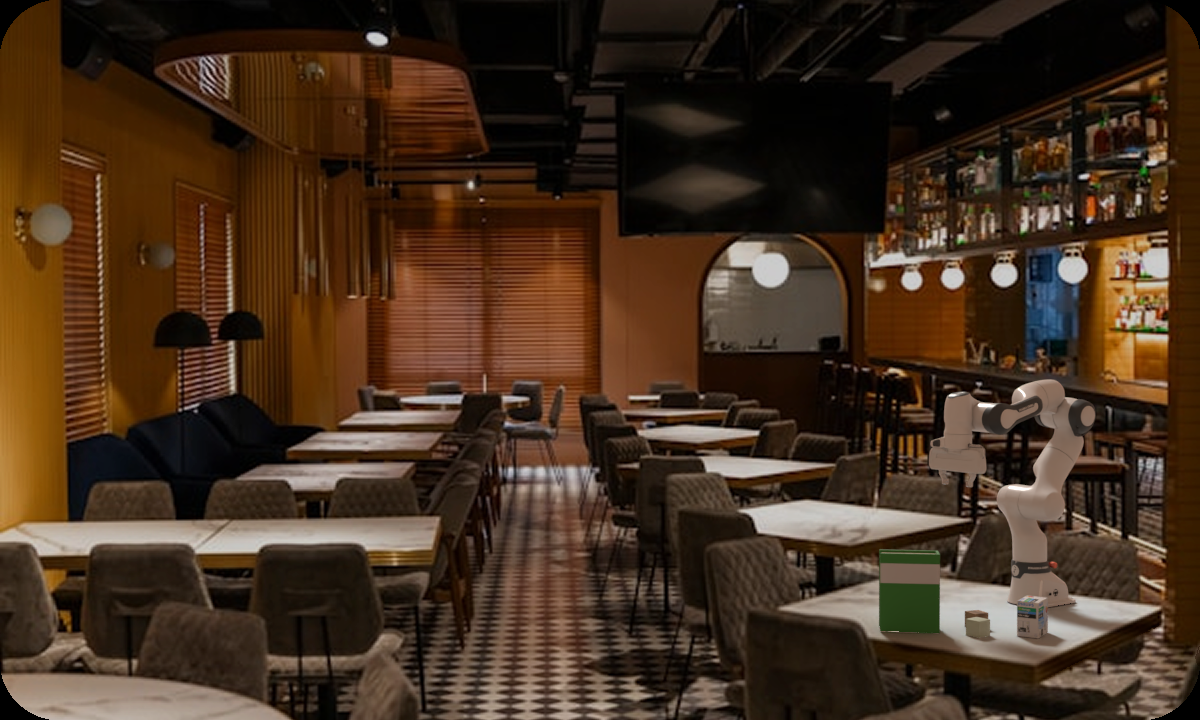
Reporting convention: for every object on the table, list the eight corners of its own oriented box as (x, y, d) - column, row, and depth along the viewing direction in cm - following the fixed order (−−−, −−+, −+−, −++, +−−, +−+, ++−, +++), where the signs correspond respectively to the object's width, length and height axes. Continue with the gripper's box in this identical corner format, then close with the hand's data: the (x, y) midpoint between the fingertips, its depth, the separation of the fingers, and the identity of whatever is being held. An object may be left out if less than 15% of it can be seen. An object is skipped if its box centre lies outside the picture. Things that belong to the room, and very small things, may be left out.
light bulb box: (1038, 639, 435) (1039, 603, 435) (1016, 636, 438) (1016, 600, 438) (1048, 632, 444) (1048, 597, 444) (1026, 630, 447) (1026, 594, 447)
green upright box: (880, 632, 445) (880, 553, 444) (878, 626, 452) (879, 549, 452) (939, 633, 443) (940, 554, 442) (937, 628, 450) (937, 550, 449)
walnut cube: (978, 625, 454) (978, 609, 454) (988, 629, 449) (988, 612, 449) (964, 627, 452) (964, 611, 452) (974, 630, 447) (974, 614, 447)
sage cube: (976, 633, 443) (976, 616, 443) (990, 636, 439) (990, 619, 439) (965, 635, 440) (965, 618, 440) (979, 638, 436) (979, 621, 436)
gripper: (990, 444, 464) (990, 488, 464) (938, 440, 480) (937, 482, 480) (978, 445, 460) (978, 489, 460) (926, 441, 476) (925, 483, 476)
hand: (957, 485), depth 470 cm, fingers open, 8 cm apart
